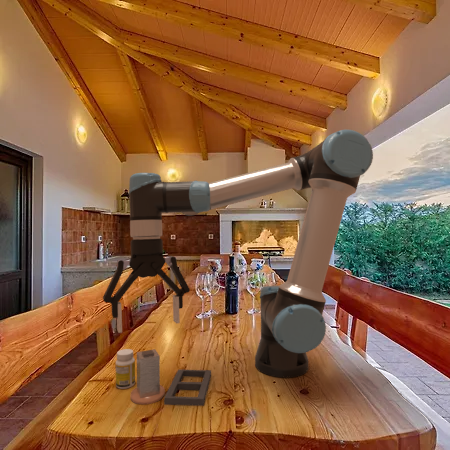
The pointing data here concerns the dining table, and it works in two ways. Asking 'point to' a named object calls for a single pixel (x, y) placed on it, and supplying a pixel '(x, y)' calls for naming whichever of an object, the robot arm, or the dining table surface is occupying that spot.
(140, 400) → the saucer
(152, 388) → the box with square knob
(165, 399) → the grey double frame
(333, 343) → the dining table surface
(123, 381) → the supplement bottle
